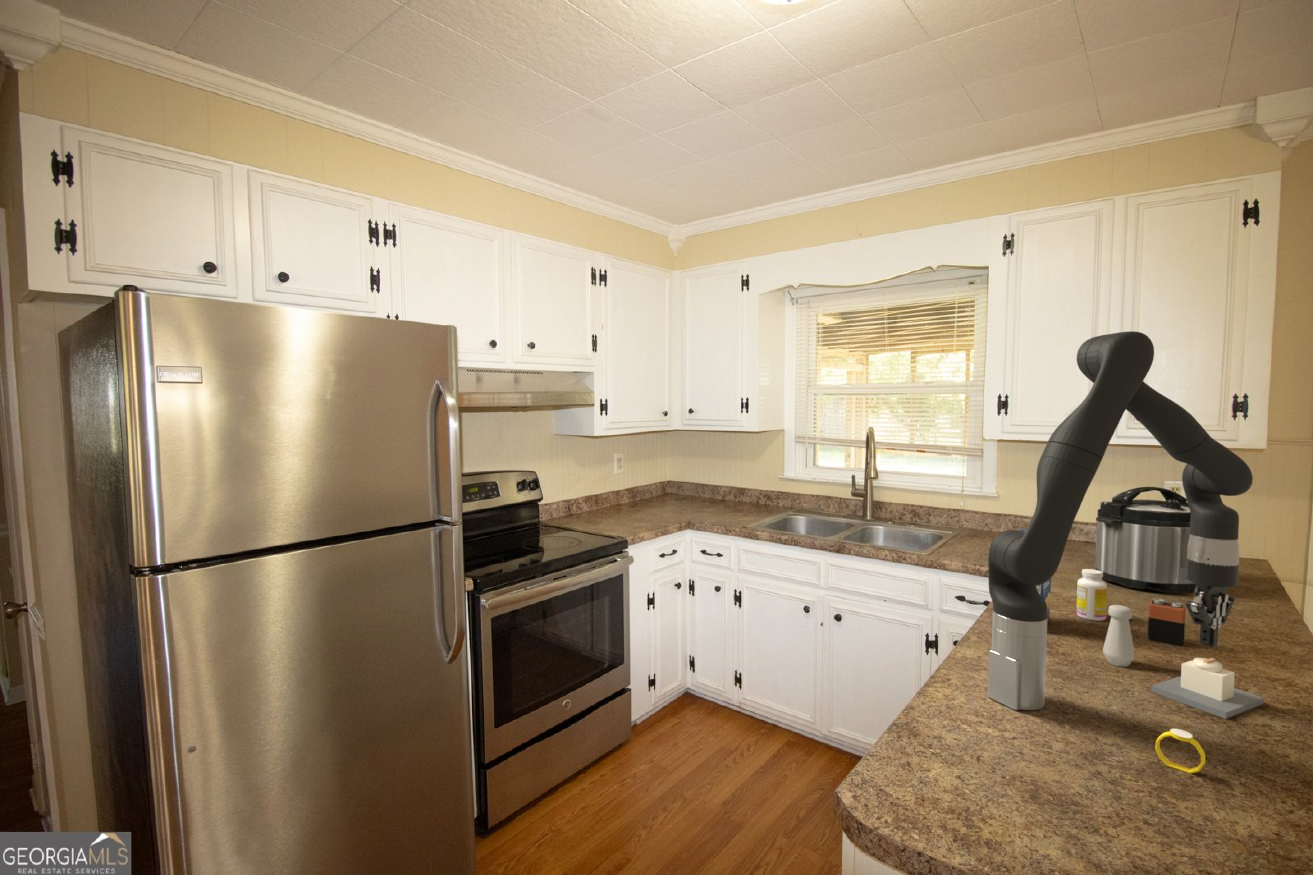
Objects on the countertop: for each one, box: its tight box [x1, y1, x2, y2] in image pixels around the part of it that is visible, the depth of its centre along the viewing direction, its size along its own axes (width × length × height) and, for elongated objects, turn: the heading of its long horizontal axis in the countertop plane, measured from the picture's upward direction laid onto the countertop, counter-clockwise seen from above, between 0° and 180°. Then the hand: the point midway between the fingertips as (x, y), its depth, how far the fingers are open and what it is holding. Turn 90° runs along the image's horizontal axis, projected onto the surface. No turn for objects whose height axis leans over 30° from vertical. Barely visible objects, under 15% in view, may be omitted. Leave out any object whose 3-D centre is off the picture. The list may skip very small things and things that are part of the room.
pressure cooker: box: [1094, 486, 1196, 594], centre depth 199 cm, size 30×28×32 cm
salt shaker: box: [1102, 604, 1136, 668], centre depth 137 cm, size 6×6×13 cm
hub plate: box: [1150, 675, 1265, 720], centre depth 121 cm, size 14×12×5 cm
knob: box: [1180, 657, 1236, 701], centre depth 121 cm, size 4×7×6 cm
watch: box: [1154, 728, 1206, 775], centre depth 98 cm, size 6×3×6 cm, turn 41°
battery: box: [1147, 597, 1187, 647], centre depth 150 cm, size 4×7×10 cm, turn 48°
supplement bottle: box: [1076, 568, 1108, 622], centre depth 167 cm, size 7×7×13 cm
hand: (1208, 645), depth 121 cm, fingers closed
